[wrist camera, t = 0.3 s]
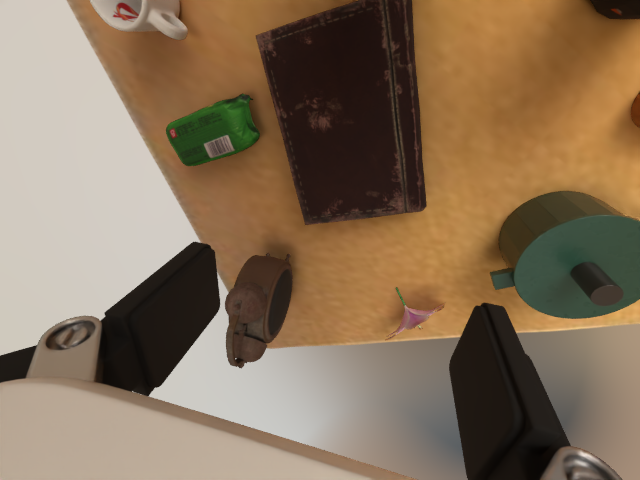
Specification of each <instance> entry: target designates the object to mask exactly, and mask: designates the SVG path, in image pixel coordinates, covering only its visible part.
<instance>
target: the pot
mask: <svg viewBox="0 0 640 480" xmlns="http://www.w3.org/2000/svg"><path fill="white" fill-rule="evenodd" d="M600 213H608V214H618V215H623V214H621V213H620V212H618V211H617V210H615V209H614V208H612V207H611V206H609V205H607V204H606V203H604V202H603V201H601V200H599V199H596V198H594V197H592V196H590V195H587V194H584V193H580V192H572V191H560V192H553V193H548V194H544V195H541V196H538V197H536V198H534V199H531V200H529V201H528V202H526V203H524V204H523V205H521V206H520V207H519V208H517V209H516V210H515V211H514V212H513V213H512V214H511V215H510V216H509V217H508V218H507V220H506V221H505V223H504V225H503V227H502V229H501V232H500V236H499V248H500V251H501V254H502V258H503V260H504V261H505V263H506V265H507V267H508V268H507V269H502V270H498V271H493V272H490V275H491V279H492V282H493V286H494V288H495V290H497V289H502V288H508V287H513V286H515V285H514V282H513V269H514V264H515V262H516V259H517V257H518V255H519V253H520V252H521V250H522V249H523V248H524V247H525V245H526V244H527V243H528V242H529V241H530V240H531V239H532V238H534V237H535V236H536V235H537V234H539V233H540V232H542V231H543V230H545V229H546V228H548V227H550V226H552V225H554V224H556V223H559V222H561V221H564V220H567V219H570V218H573V217H577V216H582V215H588V214H600ZM623 216H625V215H623Z"/></svg>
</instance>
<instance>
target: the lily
mask: <svg viewBox="0 0 640 480" xmlns="http://www.w3.org/2000/svg"><path fill="white" fill-rule="evenodd" d="M396 290H397V292H398V294H399V296H400V298H401V300H402V302H403V304H404V307H405V311H404V315H403V318H402V321H401V324H400V326H399V328H398V329H397V330H396V331H395V332H393V333H391V334H390V335H392V334H394V333H396V332H397V331H398V332H397V334H398V333H400V332H401V331H402V330H404V329H405V328H406V329H412V328H415V327H416V326H418V325H419V324H420V323H422V322H424V321H426V320H427V319H428V318H429V317H428V316H429V315H431V314H433V313H435V312H437V311H440V310H441V309H442V308H444V307H442V308H440V309H439V310H437V311H435V312H432V311H434V310H436V309H437V308H439V307H441V306H442V305H443V304H442V305H440V306H438V307H436V308H434V309H432V310H428V311H422V310H415V309H411V308H408V307H407V306H406V304H405V303H404V301H403V299H402V297H401V295H400V293H399V290H398V288H397V287H396ZM444 304H445V303H444ZM419 326H420V325H419ZM419 326H418V327H419ZM420 327H421V326H420ZM420 327H419V329H421V328H422V327H421V328H420ZM422 329H423V328H422ZM390 335H388V336H390ZM395 335H396V334H395ZM395 335H393V336H392V337H394V336H395ZM388 336H386V337H388ZM392 337H390V338H392ZM390 338H388V339H390ZM388 339H386V340H388Z"/></svg>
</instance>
